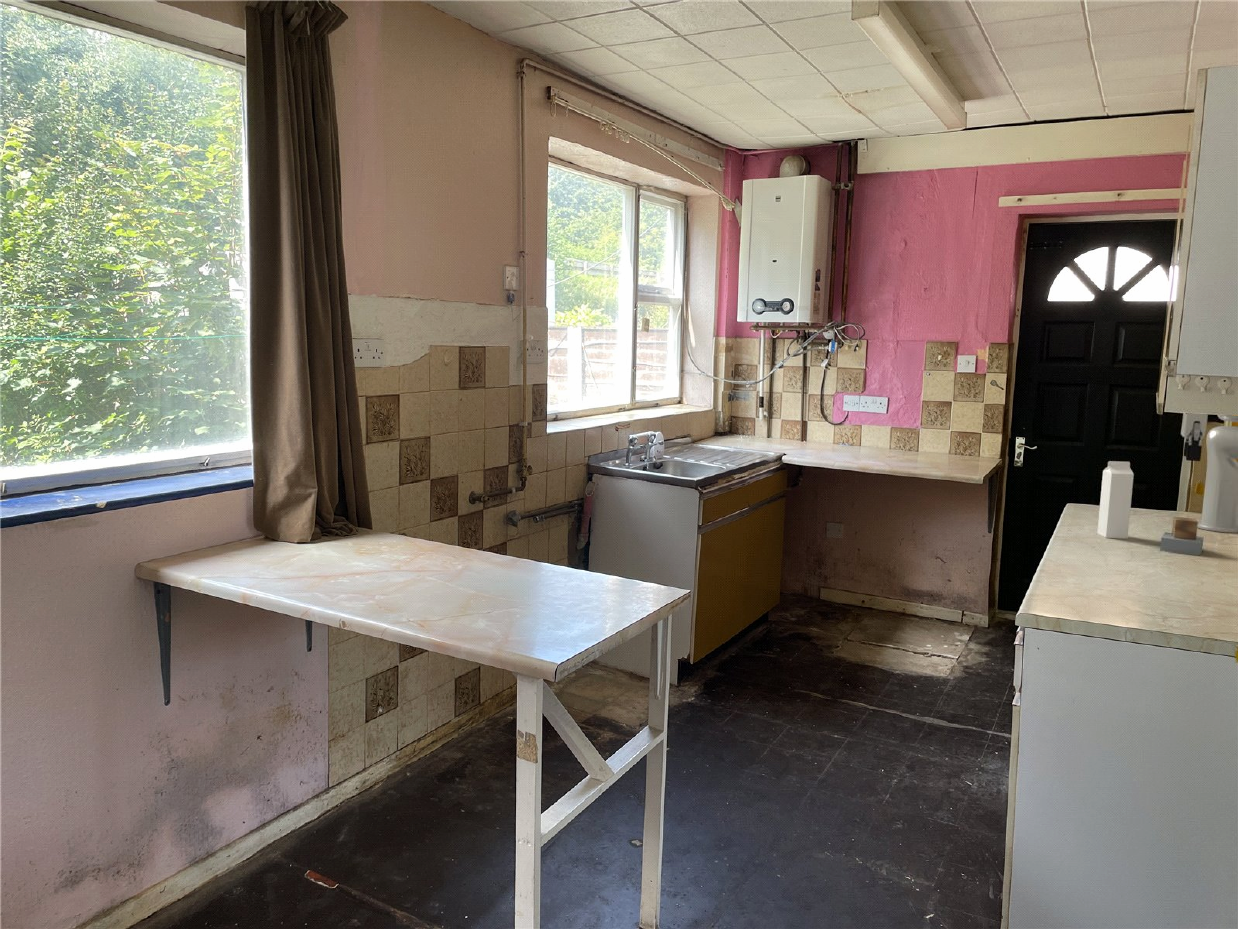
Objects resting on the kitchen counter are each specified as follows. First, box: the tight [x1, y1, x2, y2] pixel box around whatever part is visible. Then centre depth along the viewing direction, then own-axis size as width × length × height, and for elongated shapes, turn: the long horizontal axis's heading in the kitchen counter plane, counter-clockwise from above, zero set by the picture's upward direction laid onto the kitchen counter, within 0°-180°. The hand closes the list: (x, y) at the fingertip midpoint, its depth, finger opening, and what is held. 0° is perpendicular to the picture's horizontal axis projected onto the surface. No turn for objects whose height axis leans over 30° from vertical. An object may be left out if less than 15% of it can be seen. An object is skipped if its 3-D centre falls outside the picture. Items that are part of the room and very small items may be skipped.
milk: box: [1096, 460, 1135, 540], centre depth 253 cm, size 6×6×22 cm
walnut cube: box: [1171, 516, 1198, 540], centre depth 237 cm, size 5×5×5 cm
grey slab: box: [1159, 531, 1205, 557], centre depth 238 cm, size 9×9×4 cm
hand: (1191, 458), depth 235 cm, fingers open, 9 cm apart
